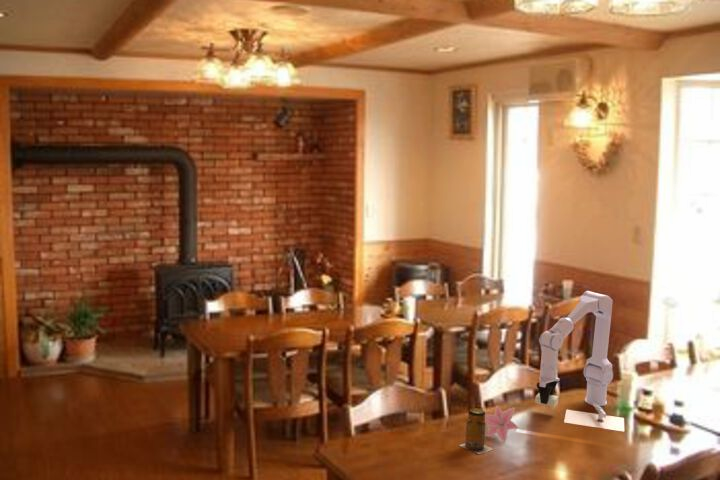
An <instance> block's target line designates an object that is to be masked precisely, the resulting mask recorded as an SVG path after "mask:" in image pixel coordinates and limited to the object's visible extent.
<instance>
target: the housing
mask: <svg viewBox="0 0 720 480" xmlns="http://www.w3.org/2000/svg"><path fill="white" fill-rule="evenodd" d="M598 414H599V413H594V412H593V413H592V412H585V411H579V410H571V409H566V410H565V415H564V420H563V421H564V422H563V423H565V424H567V423H568V424H571V425H580V426H583V427H584V426H586V427H589V428H590V427H591V428H592V427H593V428H597V429H599V428H600V429H604V430H612V431H618V432H623V433H624V432H625V418H624V417H619V416H613V415H607V414H606V418H604V417H603V421H598Z"/></svg>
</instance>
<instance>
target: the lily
mask: <svg viewBox="0 0 720 480" xmlns="http://www.w3.org/2000/svg"><path fill="white" fill-rule="evenodd" d="M515 411H516V407H513V406H512V407H510V408H508V409H506V410H504V411H503V410H502V409H501V407H500V406H499V405H496V406H495V409H494V414H487V415H486V414H485V420H486V425H488V426H489V428H488V431H487V433H486V436H487V437H491V436H493V435H496V434H497V436H498V438H499V439H500V440H501V441H502V442H503V443H506V441H507V437H508V430H516V429H519V426H518V425H517V424H516V423H515V422H513V421H512V418H513V416H514V413H515Z"/></svg>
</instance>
